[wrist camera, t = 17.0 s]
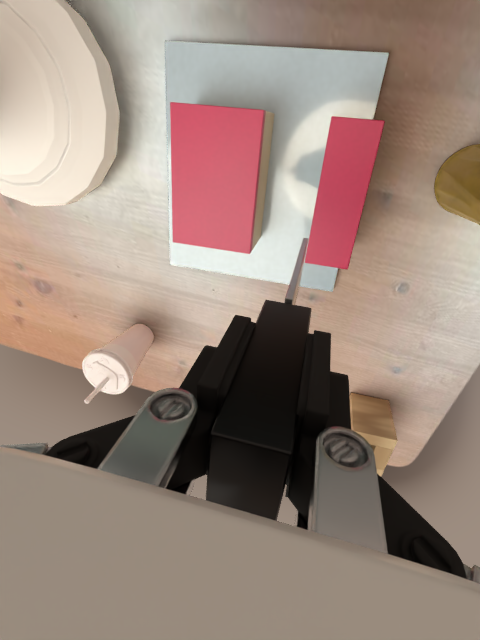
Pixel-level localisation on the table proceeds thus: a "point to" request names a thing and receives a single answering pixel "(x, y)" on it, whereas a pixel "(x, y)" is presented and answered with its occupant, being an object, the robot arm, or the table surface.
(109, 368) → the smoothie
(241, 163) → the cake
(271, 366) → the knife
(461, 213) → the vase
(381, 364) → the table surface
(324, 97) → the cake plate
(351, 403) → the knife block
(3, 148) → the candle holder
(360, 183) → the cake slice
